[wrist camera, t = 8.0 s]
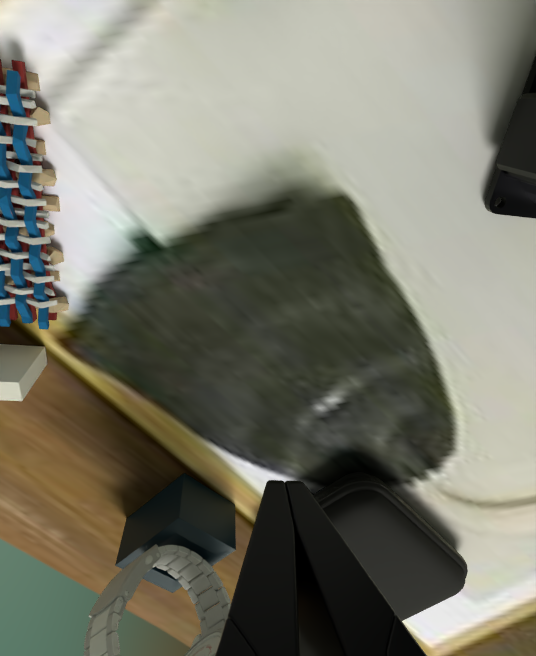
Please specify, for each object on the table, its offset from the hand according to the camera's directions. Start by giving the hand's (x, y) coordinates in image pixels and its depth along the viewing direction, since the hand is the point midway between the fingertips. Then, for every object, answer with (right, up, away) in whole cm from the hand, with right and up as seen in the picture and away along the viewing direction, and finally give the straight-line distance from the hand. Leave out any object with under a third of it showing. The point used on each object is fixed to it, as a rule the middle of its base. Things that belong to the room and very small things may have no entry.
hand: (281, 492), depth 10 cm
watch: (-6, -8, +18) cm, 20 cm away
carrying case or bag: (+6, -12, +21) cm, 25 cm away
